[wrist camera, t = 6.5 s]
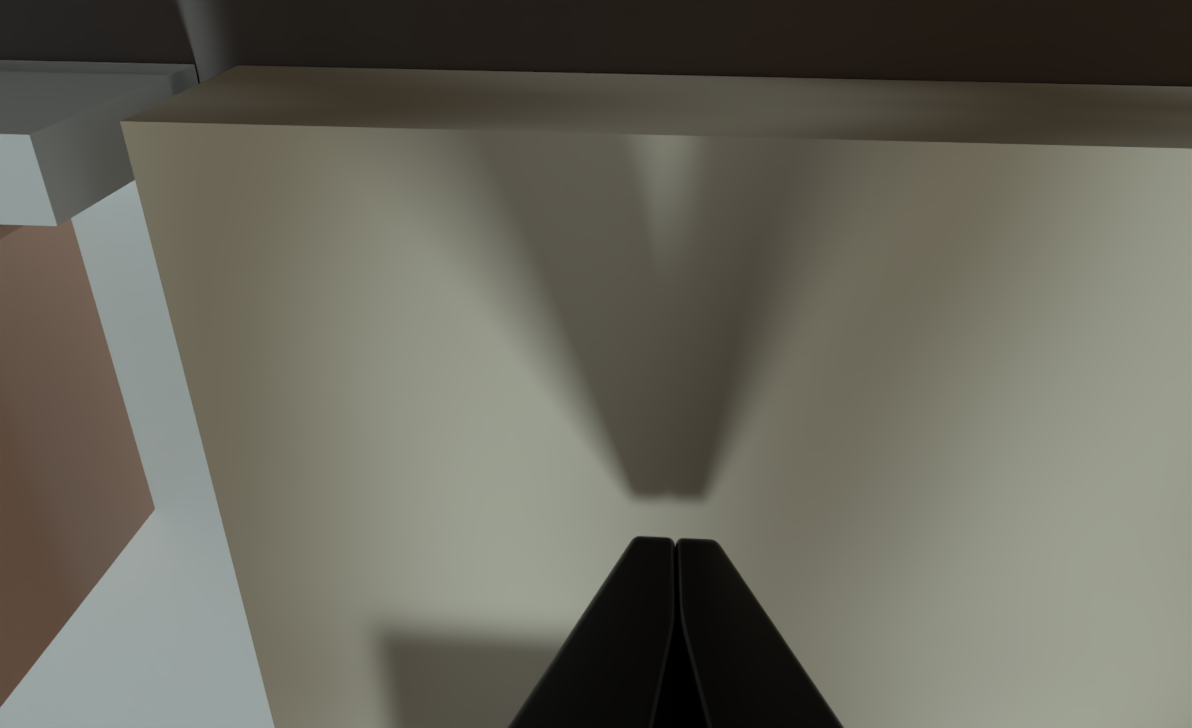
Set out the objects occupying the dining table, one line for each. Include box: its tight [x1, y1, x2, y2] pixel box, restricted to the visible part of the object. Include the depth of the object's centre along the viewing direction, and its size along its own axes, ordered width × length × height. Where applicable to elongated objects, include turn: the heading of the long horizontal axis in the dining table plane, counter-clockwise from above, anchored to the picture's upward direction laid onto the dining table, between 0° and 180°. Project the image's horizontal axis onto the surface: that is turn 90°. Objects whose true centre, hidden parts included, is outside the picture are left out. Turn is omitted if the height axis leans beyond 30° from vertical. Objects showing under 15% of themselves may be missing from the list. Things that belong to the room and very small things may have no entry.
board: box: [120, 65, 1192, 728], centre depth 12 cm, size 14×15×2 cm
